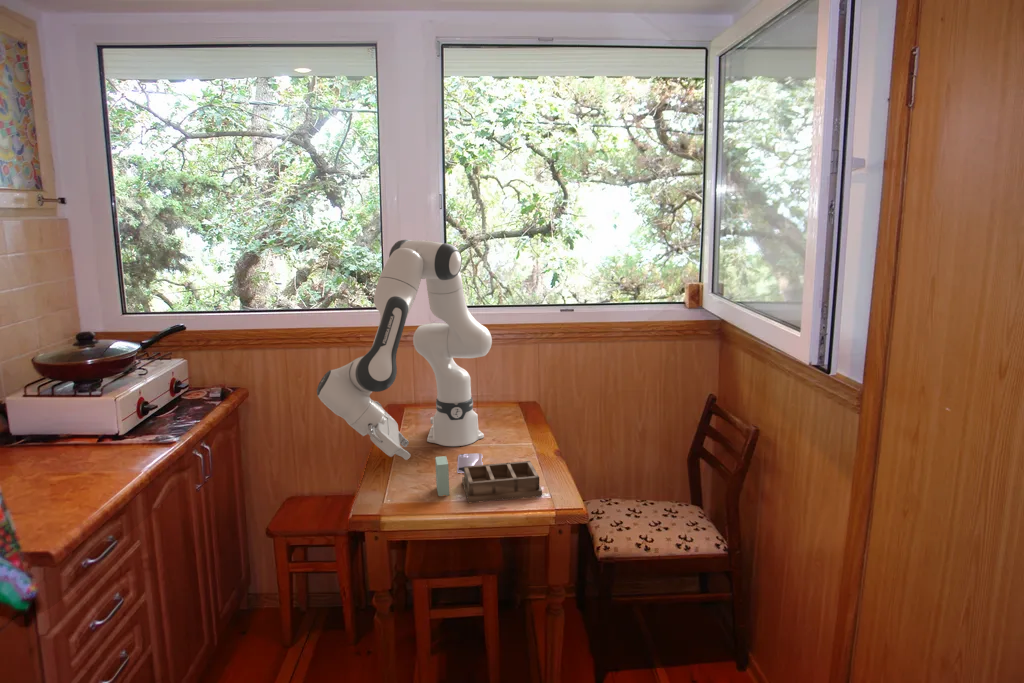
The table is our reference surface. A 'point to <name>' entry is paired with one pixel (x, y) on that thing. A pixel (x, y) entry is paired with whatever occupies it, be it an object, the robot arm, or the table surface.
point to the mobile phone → (468, 461)
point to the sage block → (442, 475)
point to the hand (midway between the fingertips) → (408, 450)
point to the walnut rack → (501, 481)
